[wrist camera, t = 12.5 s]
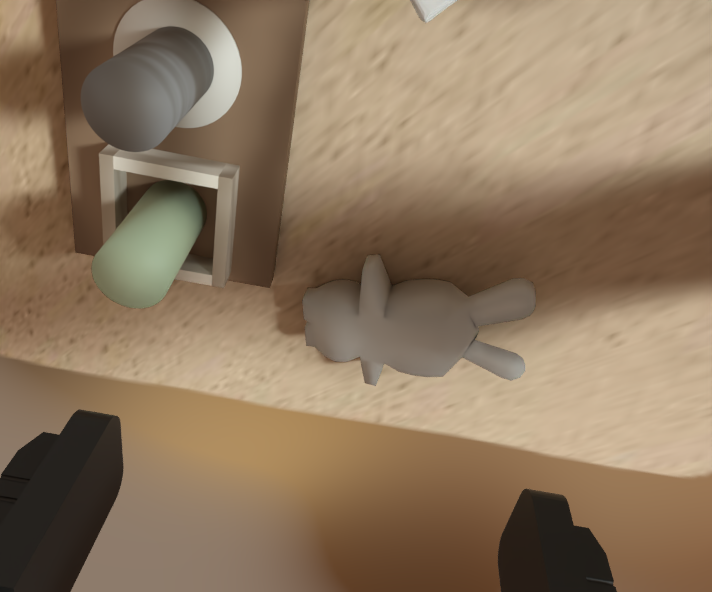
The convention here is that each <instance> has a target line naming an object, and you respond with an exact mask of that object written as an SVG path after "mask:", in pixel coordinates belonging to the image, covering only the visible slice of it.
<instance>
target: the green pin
mask: <svg viewBox="0 0 712 592" xmlns="http://www.w3.org/2000/svg"><path fill="white" fill-rule="evenodd" d="M206 219H207V209H206V205H205V203H204V201H203V199H202V197H201V196H200V195H199V193H198V192H197V191H196V190H194V189H193V188H192V187H190V186H189V185H187V184H185V183H183V182H178V181H173V180H163V181H159V182H157V183H155V184H153V185H152V186H151V187H150V188H149V189H148V190H147V191H146V193H145V194H144V195H143V196H142V198H141V199H140V200H139V201H138V203H137V204H136V205H135V206H134V208H133V209H132V210H131V211H130V212H129V214H128V215H127V216H126V217H125V219H124V220H123V221H122V222H121V224H120V225H119V226H118V227H117V229H116V230H115V231H114V232H113V234H112V235H111V236H110V237H109V239H108V240H107V241H106V242H105V244H104V245H103V246H102V247H101V249H100V250H99V251H98V252H97V254H96V255H95V257H94V259H93V261H92V275H93V279H94V281H95V283H96V285H97V286H98V288H99V289H100V290H101V291H102V293H103V294H104V295H106V296H107V297H108V298H109V299H111V300H112V301H114V302H116V303H118V304H120V305H123V306H126V307H130V308H147V307H151V306H154V305H155V304H157V303H159V302H160V301H161V300H162V299H163V298H164V296H165V295H166V293H167V291H168V289H169V288H170V286H171V284H172V282H173V281H174V279H175V277H176V275H177V273H178V272H179V270H180V268H181V266H182V264H183V263H184V261H185V259H186V257H187V255H188V254H189V252H190V250H191V248H192V246H193V245H194V243H195V241H196V239H197V238H198V236H199V234H200V232H201V230H202V229H203V227H204V225H205V223H206Z"/></svg>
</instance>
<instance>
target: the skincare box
mask: <svg viewBox="0 0 712 592" xmlns="http://www.w3.org/2000/svg"><path fill="white" fill-rule="evenodd" d="M410 1H411V3H412V5H413V7H414V9H415V11H416V13H417V15H418V16H419V18H420V19H421V20H422V21H423V22H425V23H427V22H429V21H430V20H432V19H433V18H434V17H436V16H437V15H438V14H440V13H441V12H442V11H443V10H445V9H446V8H447V7H449V6H450V5H452V4H453V3H454V2H456V1H457V0H410Z"/></svg>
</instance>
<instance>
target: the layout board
mask: <svg viewBox="0 0 712 592" xmlns="http://www.w3.org/2000/svg"><path fill="white" fill-rule="evenodd" d="M56 7H57V20H58V33H59V45H60V58H61V71H62V84H63V97H64V110H65V123H66V136H67V149H68V161H69V174H70V187H71V200H72V213H73V226H74V239H75V252H77V253H82V254H87V255H93V256H95V255H96V254H97V252H98V251H99V250H100V249H101V247H102V246H103V245H104V244H105V242H106V241H107V240H108V239H109V237H110V236H111V235H112V234H113V232H114V231H115V230H116V229H117V227H118V226H119V225H120V224H121V222H122V221H123V220H124V219H125V217H126V216H127V215H128V214H129V212H130V211H131V210H132V209H133V208H134V206H135V205H136V204H137V203H138V201H139V200H140V199H141V198H142V196H143V195H144V194H145V193H146V191H147V190H148V189H149V188H150V187H151V186H152V185H153V184H155V183H157V182H159V181H163V180H173V181H178V182H183V183H185V184H187V185H189V186H190V187H192V188H193V189H194V190H196V191H197V192H198V193H199V195H200V196H201V197H202V199H203V201H204V203H205V205H206V209H207V219H206V223H205V225H204V227H203V229H202V230H201V232H200V234H199V236H198V238H197V239H196V241H195V243H194V245H193V246H192V248H191V250H190V252H189V254H188V255H187V257H186V259H185V261H184V263H183V264H182V266H181V268H180V270H179V272H178V273H177V275H176V277H175V279H176V280H182V281H187V282H193V283H198V284H204V285H209V286H214V287H220V288H224V287H225V285H226V282H227V280H229V281H235V282H240V283H246V284H251V285H257V286H262V287H268V288H270V286H271V283H272V280H273V277H274V270H275V262H276V254H277V247H278V239H279V231H280V224H281V216H282V208H283V200H284V193H285V185H286V177H287V170H288V162H289V154H290V147H291V139H292V131H293V123H294V116H295V108H296V100H297V93H298V85H299V77H300V70H301V62H302V54H303V46H304V39H305V31H306V23H307V16H308V8H309V0H56Z"/></svg>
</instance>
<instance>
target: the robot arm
mask: <svg viewBox="0 0 712 592" xmlns="http://www.w3.org/2000/svg"><path fill="white" fill-rule="evenodd" d="M122 476H123V455H122V440H121V425H120V419H119V417H118V416H114V415H109V414H103V413H97V412H91V411H85V410H78V411H76V412H75V413H74V414H73V415H72V417H71V418H70V420H69V421H68V423H67V424H66V426H65V427H64V429H63V431H62V432H61V433H60V435H57V434H52V433H46V432H43V433H41V434H40V435H39V436H37V437H36V438H35V439H33V440H32V441H30V442H29V443H28V444H26V445H25V446H24V447H22V448H21V449H20V450H18V451H17V453H16V454H15V456H14V457H13V458H12V460H11V461H10V463H9V464H8V465H7V467H6V468H5V470H4V471H3V473H2V474H1V478H0V592H70V591H71V589H72V587H73V585H74V583H75V581H76V579H77V577H78V575H79V573H80V571H81V569H82V567H83V565H84V563H85V561H86V559H87V557H88V555H89V553H90V551H91V549H92V547H93V545H94V542H95V540H96V538H97V537H98V534H99V532H100V530H101V528H102V526H103V524H104V522H105V520H106V518H107V516H108V514H109V512H110V510H111V508H112V506H113V504H114V502H115V500H116V498H117V495H118V492H119V489H120V486H121V481H122ZM498 568H499V577H500V586H501V592H617V591H616V587H614V586H613V581H614V580H613V577H612V573H611V570H610V567H609V563H608V559H607V556H606V553H605V552H604V550H603V549H602V547H601V546H600V544H599V543H598V541H597V540H596V538H595V537H594V535H593V534H592V532H591V531H590V529H589V528H585V527H579V526H574V525H573V521H572V517H571V513H570V509H569V505H568V502H567V499H566V498H565V497H564V496H563V495H559V494H554V493H548V492H542V491H536V490H531V489H524V490H523V491H522V493H521V495H520V497H519V499H518V501H517V503H516V505H515V507H514V510H513V512H512V514H511V516H510V518H509V520H508V523H507V525H506V527H505V529H504V531H503V533H502V536H501V540H500V544H499V551H498Z"/></svg>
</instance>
